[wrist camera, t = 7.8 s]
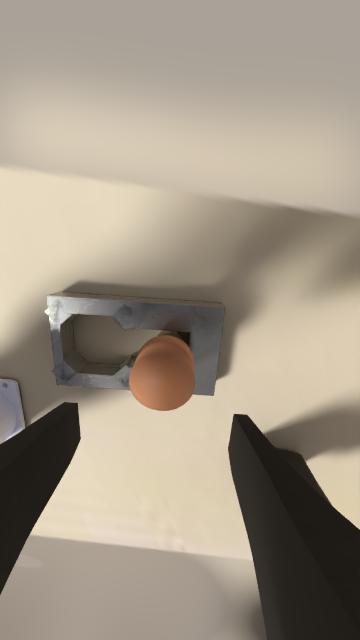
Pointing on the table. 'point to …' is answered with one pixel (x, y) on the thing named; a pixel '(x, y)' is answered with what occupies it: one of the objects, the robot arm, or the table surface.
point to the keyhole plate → (138, 314)
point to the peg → (163, 373)
